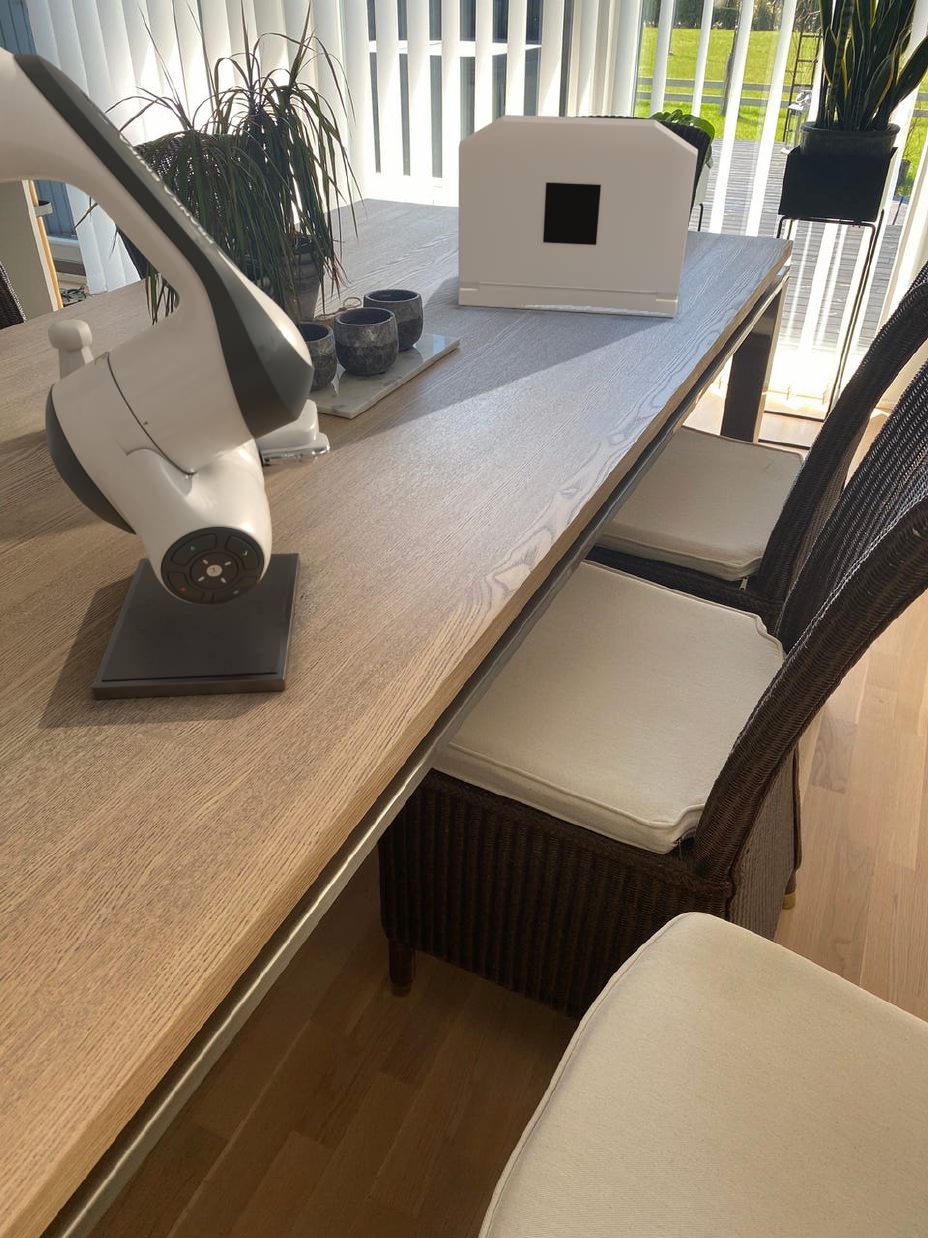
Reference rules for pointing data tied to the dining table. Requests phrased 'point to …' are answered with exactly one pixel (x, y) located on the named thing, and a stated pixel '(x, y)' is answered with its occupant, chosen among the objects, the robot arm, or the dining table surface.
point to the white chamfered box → (574, 214)
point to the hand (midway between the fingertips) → (201, 404)
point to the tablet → (201, 639)
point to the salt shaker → (71, 344)
